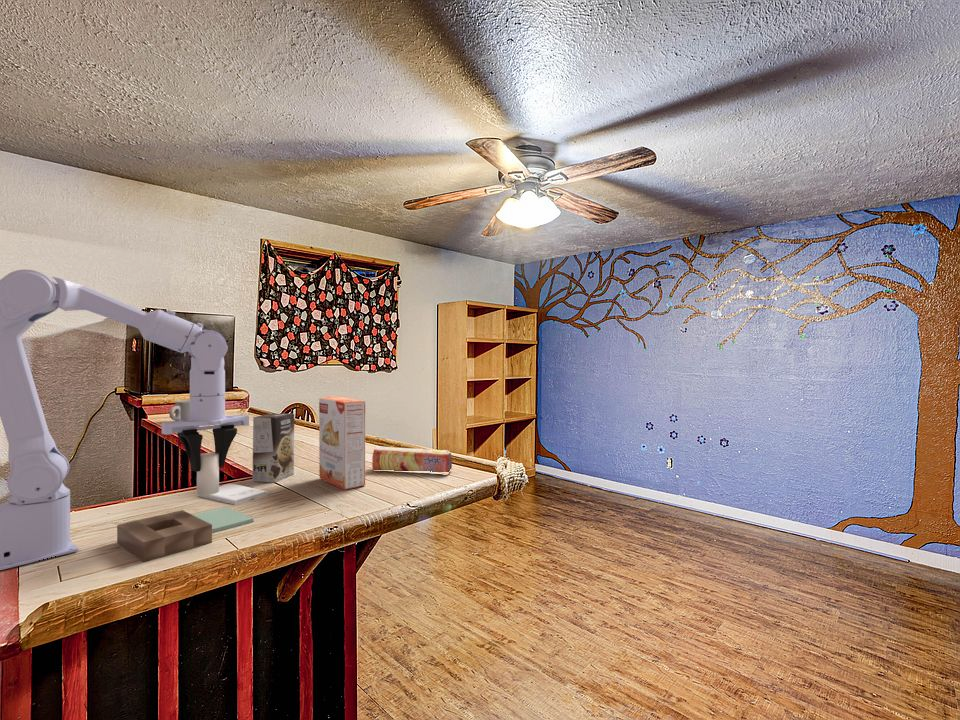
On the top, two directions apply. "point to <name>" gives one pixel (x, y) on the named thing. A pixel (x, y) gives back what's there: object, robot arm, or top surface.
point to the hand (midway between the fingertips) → (207, 468)
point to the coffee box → (273, 447)
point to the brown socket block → (163, 535)
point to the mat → (224, 518)
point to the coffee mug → (180, 410)
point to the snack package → (411, 459)
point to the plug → (208, 474)
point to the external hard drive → (236, 494)
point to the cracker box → (342, 441)
